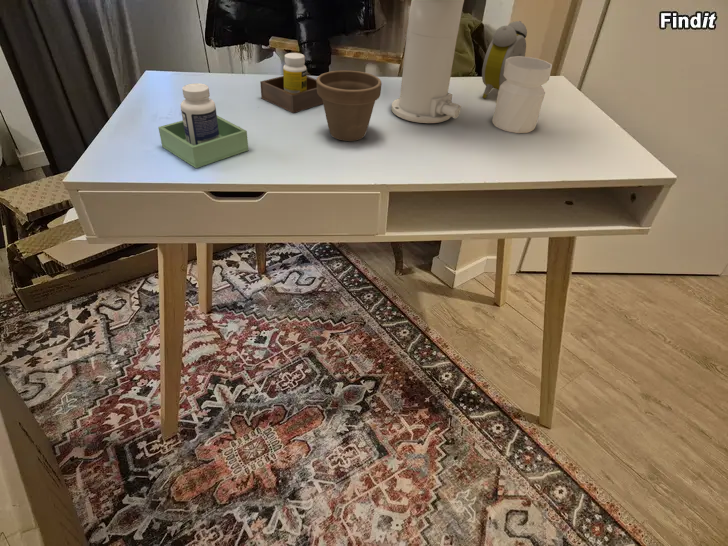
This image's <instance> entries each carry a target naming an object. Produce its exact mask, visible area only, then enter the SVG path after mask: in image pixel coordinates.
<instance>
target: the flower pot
mask: <svg viewBox="0 0 728 546" xmlns="http://www.w3.org/2000/svg"><path fill="white" fill-rule="evenodd" d="M316 83H317V93H318V95H319V96H320V97H321V98H322V101H323V104H322V105H323V109H324V114H325V118H326V123H327V127H328V131H329V133H330V136H331V137H332V138H334V139H336V140H338V141H343V142H354V141H355V142H356V141H359V140H361V139H363V138H364V137H365V136H366V134H367V131H368V128H369V124H370V121H371V117H372V114H373V110H374V107H375V103H376V101H378V100H379V98H380V97H381V94H382V80H381V79H380V78H379V77H378V76H376V75H375V74H372V73H369V72H365V71H358V70H345V69H344V70H343V69H342V70H332V71H328V72H327V71H326V72H324V73H321V74H320V75H318V76H317V77H316Z"/></svg>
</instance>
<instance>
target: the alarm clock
mask: <svg viewBox="0 0 728 546" xmlns="http://www.w3.org/2000/svg"><path fill="white" fill-rule="evenodd" d="M527 35H528V29H527V26H526V25H525V24H524V23H523V22H522V20H517V21H516V20H515V21H512V22H510V23H509V24H507V25H502V26H500V27H498V28H497V29H496V30H495V31H494V34H493V36H492V40H491V41H490V43H489V45H488V48H487V50H486V53H485V55H484V59H483V64H482V68H481V78H482V79H481V80H482V83H483V85H484V86H485V89H484V91H483V93H482V98H483V99H486V98H487V97H488V96H489V94H490V93H491V91H492V90H493V89H495V90H498V91H499V88H500V85H501V84H502V83H503V82H504V81H506V80H507V79H506V78H505V77H504V67H505V61H506V59H508V58H509V57H516V56H524V57H526V52H527V41H526V38H527Z"/></svg>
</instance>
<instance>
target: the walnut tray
mask: <svg viewBox="0 0 728 546" xmlns="http://www.w3.org/2000/svg"><path fill="white" fill-rule="evenodd" d="M316 80H317V78H314V77H311V76H308V75H307V90H306V91H303V92H299V93H296V94H292V93H289V92H287V91H285V90H284V77H283V75H281V76H277V77H273V78H269V79H264V80H262V81H259V82H260V84H259V85H260V96H261V97H260V98H261V99H262V100H264V101H266V102H269V103H271V104H273V105H275V106H277V107H280V108H281V109H283V110H286V111H288V112H290V113H292V114H295V113H298V112H301V111H304V110H307V109H311V108H315V107H318V106H320V105H323V101H322V98H321V97H320V96H319V95H318V93H317V83H316Z"/></svg>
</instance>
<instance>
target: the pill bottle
mask: <svg viewBox="0 0 728 546" xmlns="http://www.w3.org/2000/svg"><path fill="white" fill-rule="evenodd" d="M182 95H183V98H184V99H183V100H182V101H181V103H180V112H181V117H182V120H183V124H184V130H185V135H186V141H187V142H188V143H190V144H192V145H193V146H194V145H198V144H201V143H204V142H207V141H210V140H214V139H217V138H220V137H219V129H218V122H217V116H218V115H217V107H216V103H215V101H214V100H213V99H212V98H210V95H211V94H210V88H209V85H207V84H203V83H189V84H185V85H183V86H182Z"/></svg>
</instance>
